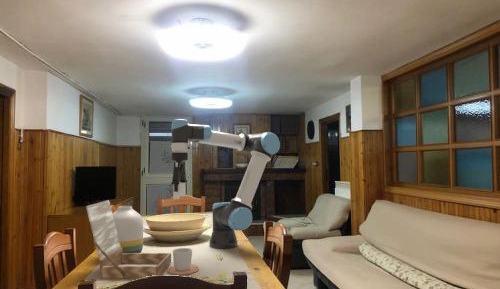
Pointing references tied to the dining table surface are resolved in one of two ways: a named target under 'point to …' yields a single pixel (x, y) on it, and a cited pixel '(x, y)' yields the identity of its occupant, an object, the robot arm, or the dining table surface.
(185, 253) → the cup
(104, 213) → the cold frame
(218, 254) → the dining table surface
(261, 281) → the dining table surface
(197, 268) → the saucer
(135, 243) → the vase
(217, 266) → the dining table surface
